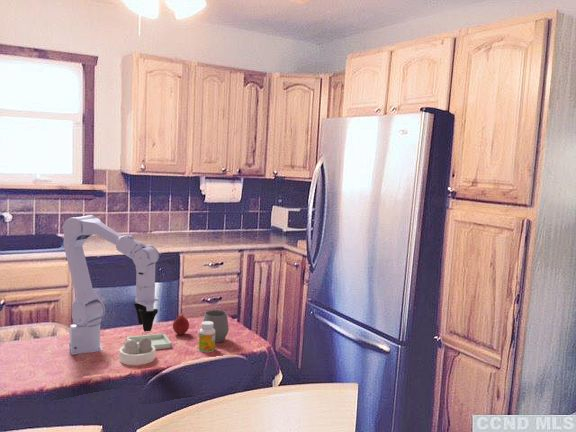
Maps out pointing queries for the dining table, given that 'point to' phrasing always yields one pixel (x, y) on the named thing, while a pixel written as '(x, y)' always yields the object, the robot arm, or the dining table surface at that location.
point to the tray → (154, 340)
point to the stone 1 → (130, 347)
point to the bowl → (137, 356)
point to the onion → (180, 325)
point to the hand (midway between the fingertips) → (144, 327)
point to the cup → (218, 323)
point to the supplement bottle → (207, 337)
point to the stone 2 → (144, 345)
